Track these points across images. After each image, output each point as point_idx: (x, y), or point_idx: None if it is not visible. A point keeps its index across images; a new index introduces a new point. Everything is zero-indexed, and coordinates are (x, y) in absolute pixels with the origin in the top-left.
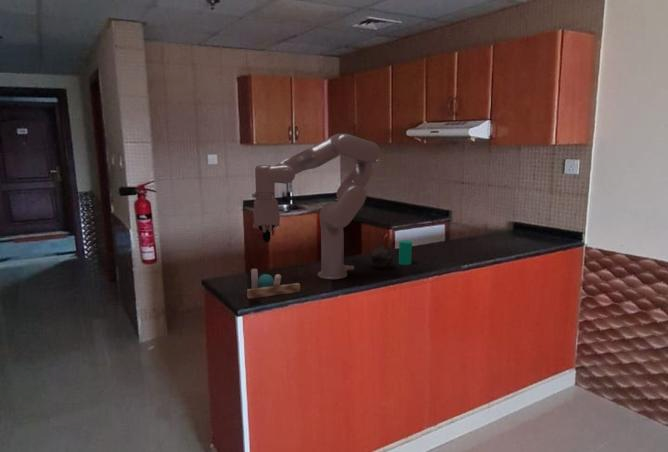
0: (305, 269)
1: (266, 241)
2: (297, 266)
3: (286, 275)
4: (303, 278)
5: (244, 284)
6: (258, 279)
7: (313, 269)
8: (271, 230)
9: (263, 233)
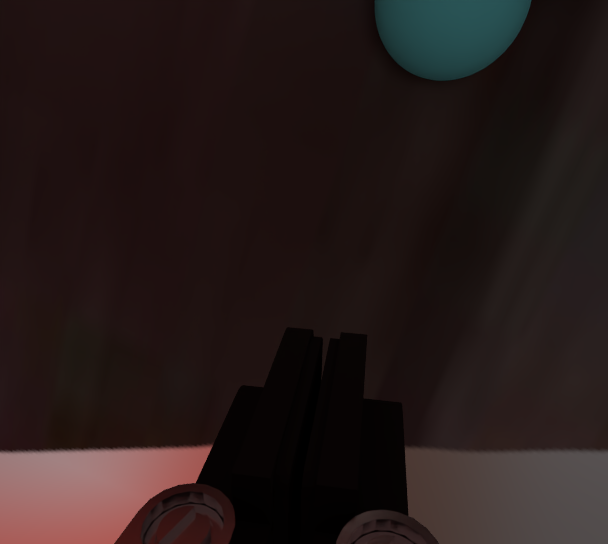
0: (51, 356)
1: (353, 334)
2: (88, 431)
3: (192, 291)
4: (97, 171)
5: (543, 221)
6: (522, 24)
7: (4, 333)
8: (136, 522)
9: (406, 514)
